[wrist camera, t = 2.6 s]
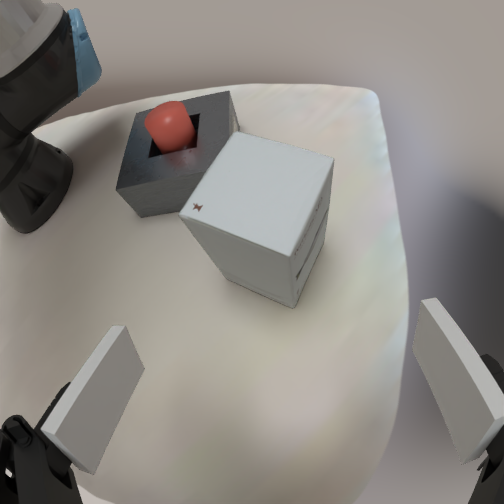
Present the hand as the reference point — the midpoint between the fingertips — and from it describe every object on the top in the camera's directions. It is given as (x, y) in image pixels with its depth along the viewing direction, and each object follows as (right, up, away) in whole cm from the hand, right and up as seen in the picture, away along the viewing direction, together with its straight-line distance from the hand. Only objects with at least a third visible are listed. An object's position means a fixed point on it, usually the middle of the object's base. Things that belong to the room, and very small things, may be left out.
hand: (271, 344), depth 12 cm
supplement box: (+2, +3, +17) cm, 17 cm away
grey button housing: (-8, +14, +23) cm, 28 cm away
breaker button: (-9, +16, +19) cm, 26 cm away
